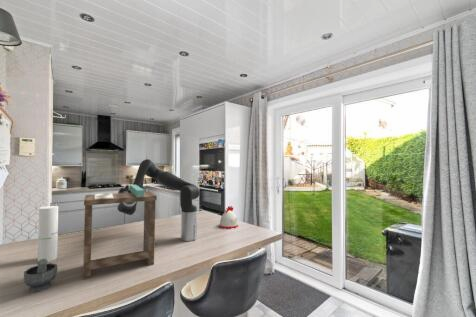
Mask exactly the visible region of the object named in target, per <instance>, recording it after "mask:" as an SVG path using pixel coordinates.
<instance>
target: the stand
mask: <svg viewBox="0 0 476 317" xmlns="http://www.w3.org/2000/svg"><path fill="white" fill-rule="evenodd" d="M157 197H158V196H157V195H156V194H154V193H153V192H152V191H145V192H144V197H136V196H135V195H134V194H133V193H118V192H117V193H112V192H109V193H107V192H105V193H104V192H103V193H94V194H86V195H85V197H84V199H83V206H84V231H83V267H82V271H83V272H82V273H83V274H82V280H84V281H85V280H87V279H88V280H89V279H91V271H92V270H94V269H100V268H105V267H111V266H114V265H116V266H117V265H119V264H124V263H131V262H136V261H140V260H145V261H146V263H147V266H152V265H155V240H156V237H155V235H156V234H155V233H156V232H155V231H156V201H157V199H158V198H157ZM126 202H137V203H138V202H140V203H141V202H144V204H143V206H144V208H143V210H144V211H143V242H142V243H143V246H142V247H143V248H142V249H143V250H140V251H135V252H130V253H123V254H118V255H112V256H107V257H100V258H95V259H92V237H93V236H92V232H93V230H92V229H93V228H92V227H93V205H94V206H97V205H109V204H110V205H111V204H120V203H126Z"/></svg>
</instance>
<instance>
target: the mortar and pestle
mask: <svg viewBox="0 0 476 317" xmlns="http://www.w3.org/2000/svg"><path fill="white" fill-rule="evenodd" d="M57 273H58V265H57V263H50V262H48V261H47V259H41V260H39V261H38V260H37V265H35V266H31V267H30V268H28V269H26V270H25V271H23V280H24V284H26V286H28V287H29V292H30V293H38V292H42V291H45V290H48V289H49V288H50V287H51V286H52V281H53V280H54V279H55V278H56V275H57Z"/></svg>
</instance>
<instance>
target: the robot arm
mask: <svg viewBox="0 0 476 317" xmlns="http://www.w3.org/2000/svg"><path fill="white" fill-rule="evenodd" d="M145 176H147V177H149V178H152V179H154V180H156V181H157V182H158V183H160V185H163V186H164V187H166V188H167V189H171V190H176V191H179V205H180V209H181V210H180V211H181V212H180V213H181V217H180V220H181V221H180V240H181V241H184V242H190V241H196V239H197V234H198V232H197V231H198V230H197V229H198V222H197V213H198V212H197V205H194V204H193V201H194V200H196V199H198V198H199V197H200V195H201V190H200V188H199V187H198V186H197V185H195V184H193V183H190V182H188V181H186V180H184V179H182V178H180V177H179V176H176V175H175V174H174V173H172V172H169V171H166V170H164V171H163V170H161V169H159V168H158V166H156V165H155V163H154V162H153V161H152V160H150V159H148V158H147V159H144V160H142V161H141V163H140V164H139V166H138V170H137V172H136V174H135V177H134V181H133V184H132V185H137V186H139V187H140V188H142V189H143V190H144V192H146V190H145V186H144V180H145ZM117 193H132V192H131V191H130V184H126V185H125V187H121V188H120V189H119V190H118V191H117ZM137 204H138V202H126V203H118V205H117V211H118V212H119V213H121V214H125V215H129V216H132V215H134V214H135V212H136V210H137Z"/></svg>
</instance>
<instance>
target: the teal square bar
mask: <svg viewBox="0 0 476 317" xmlns="http://www.w3.org/2000/svg"><path fill="white" fill-rule="evenodd" d="M129 189H130V191H131V192H132V193H133V194H134V195H135V196H136V197H144V190H143V189H142V188H140V187H139V186H137V185H133V184H129Z"/></svg>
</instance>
